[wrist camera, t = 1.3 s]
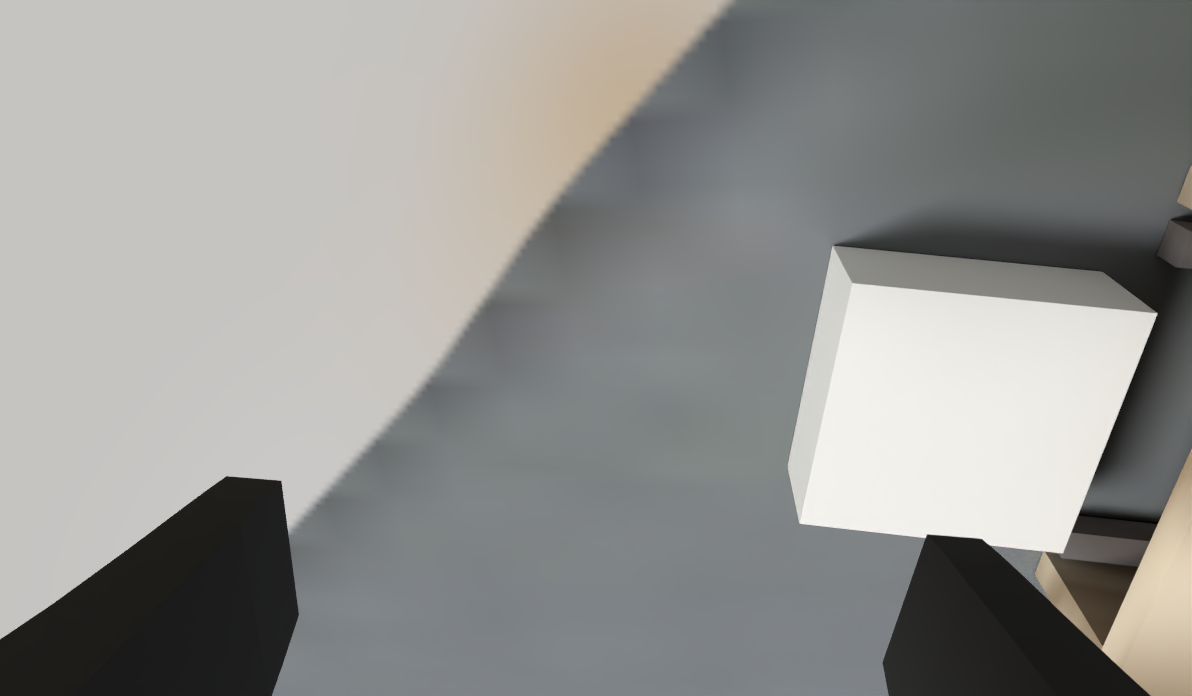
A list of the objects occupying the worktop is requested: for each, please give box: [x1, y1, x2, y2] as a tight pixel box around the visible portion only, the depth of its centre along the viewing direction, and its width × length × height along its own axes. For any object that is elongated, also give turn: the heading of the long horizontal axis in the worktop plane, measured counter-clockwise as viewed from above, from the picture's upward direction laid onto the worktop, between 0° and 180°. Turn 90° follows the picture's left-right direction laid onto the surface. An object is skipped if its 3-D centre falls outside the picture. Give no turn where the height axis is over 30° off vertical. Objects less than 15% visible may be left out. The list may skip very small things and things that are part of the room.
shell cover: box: [788, 246, 1158, 553], centre depth 19 cm, size 6×6×2 cm
